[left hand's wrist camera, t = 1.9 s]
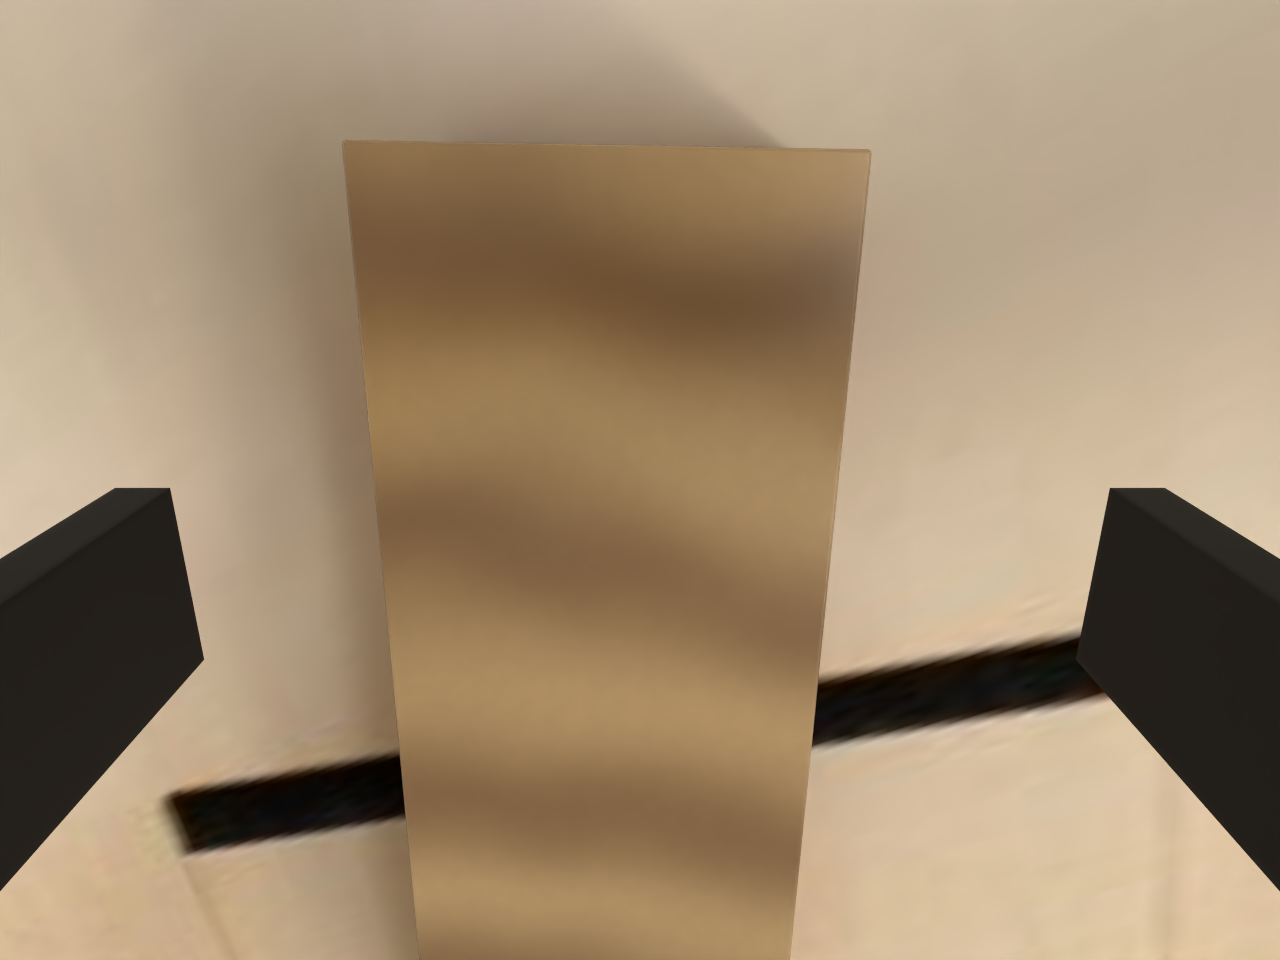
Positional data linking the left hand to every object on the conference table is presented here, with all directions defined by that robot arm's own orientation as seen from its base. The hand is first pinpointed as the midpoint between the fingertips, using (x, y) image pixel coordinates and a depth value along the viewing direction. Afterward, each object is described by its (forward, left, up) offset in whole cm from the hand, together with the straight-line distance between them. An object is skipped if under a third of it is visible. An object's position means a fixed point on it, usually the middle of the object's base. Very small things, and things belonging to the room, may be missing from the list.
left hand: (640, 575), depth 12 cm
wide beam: (+29, +12, -12) cm, 34 cm away
